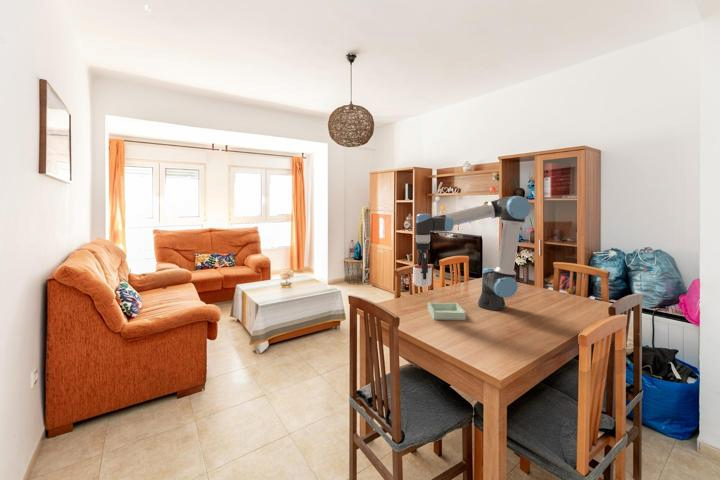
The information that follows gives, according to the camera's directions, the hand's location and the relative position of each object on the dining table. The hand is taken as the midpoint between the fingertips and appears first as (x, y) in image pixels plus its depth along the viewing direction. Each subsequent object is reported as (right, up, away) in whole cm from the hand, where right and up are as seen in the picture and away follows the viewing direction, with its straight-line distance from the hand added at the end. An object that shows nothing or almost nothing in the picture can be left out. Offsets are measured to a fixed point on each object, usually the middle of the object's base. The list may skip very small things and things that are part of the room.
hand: (422, 282), depth 179 cm
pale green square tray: (+13, -17, -1) cm, 22 cm away
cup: (0, -1, 0) cm, 2 cm away
